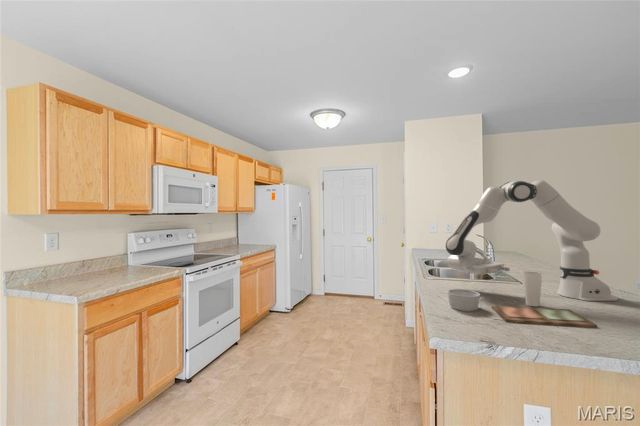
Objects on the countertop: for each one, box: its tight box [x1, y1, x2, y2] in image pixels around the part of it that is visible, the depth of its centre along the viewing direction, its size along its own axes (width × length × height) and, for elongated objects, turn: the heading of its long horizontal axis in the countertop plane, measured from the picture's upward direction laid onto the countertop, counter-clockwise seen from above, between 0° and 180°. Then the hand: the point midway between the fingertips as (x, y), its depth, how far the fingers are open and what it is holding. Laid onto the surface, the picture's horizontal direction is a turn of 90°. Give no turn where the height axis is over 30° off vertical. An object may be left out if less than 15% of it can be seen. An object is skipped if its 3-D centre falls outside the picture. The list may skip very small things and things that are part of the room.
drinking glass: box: [522, 270, 543, 308], centre depth 137 cm, size 7×7×15 cm
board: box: [491, 305, 598, 329], centre depth 122 cm, size 30×18×1 cm, turn 76°
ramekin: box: [447, 288, 481, 312], centre depth 136 cm, size 13×13×7 cm
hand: (503, 270), depth 147 cm, fingers open, 8 cm apart
